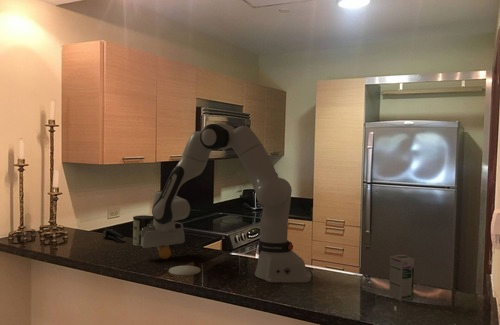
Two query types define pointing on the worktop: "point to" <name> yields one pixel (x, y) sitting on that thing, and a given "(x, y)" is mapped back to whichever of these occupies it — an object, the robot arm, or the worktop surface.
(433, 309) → the worktop surface
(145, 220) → the coffee can
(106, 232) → the can opener
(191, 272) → the disc
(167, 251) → the ball
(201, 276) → the worktop surface
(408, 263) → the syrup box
